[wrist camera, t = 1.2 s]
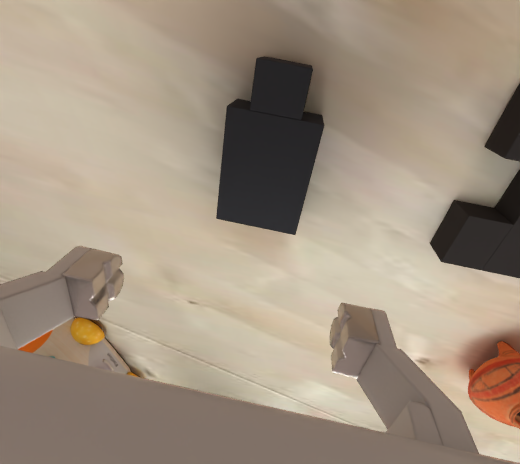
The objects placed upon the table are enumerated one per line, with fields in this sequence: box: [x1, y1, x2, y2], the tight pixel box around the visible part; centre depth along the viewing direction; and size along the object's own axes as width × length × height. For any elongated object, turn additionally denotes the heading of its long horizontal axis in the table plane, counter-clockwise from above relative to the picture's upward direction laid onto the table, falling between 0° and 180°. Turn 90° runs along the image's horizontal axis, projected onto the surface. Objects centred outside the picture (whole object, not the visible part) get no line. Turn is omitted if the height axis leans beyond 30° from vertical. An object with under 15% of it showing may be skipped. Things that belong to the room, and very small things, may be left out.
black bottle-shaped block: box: [216, 56, 324, 235], centre depth 21 cm, size 6×11×3 cm, turn 171°
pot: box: [468, 341, 520, 429], centre depth 28 cm, size 8×8×7 cm
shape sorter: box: [18, 318, 138, 377], centre depth 32 cm, size 20×10×18 cm, turn 20°
